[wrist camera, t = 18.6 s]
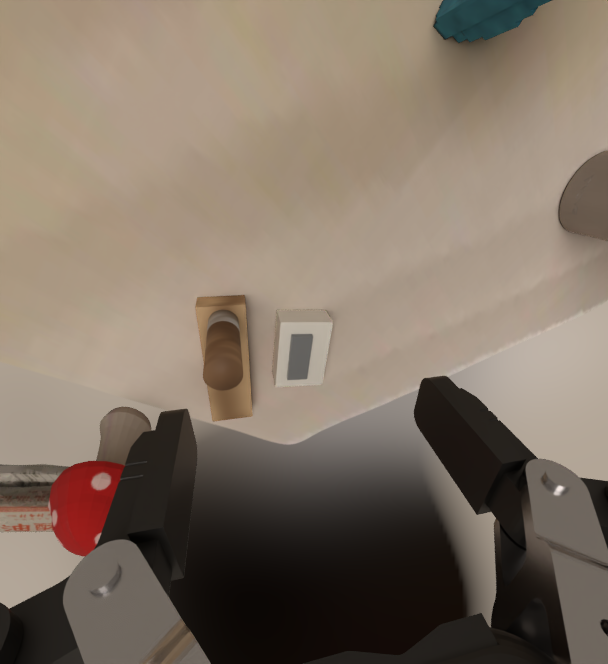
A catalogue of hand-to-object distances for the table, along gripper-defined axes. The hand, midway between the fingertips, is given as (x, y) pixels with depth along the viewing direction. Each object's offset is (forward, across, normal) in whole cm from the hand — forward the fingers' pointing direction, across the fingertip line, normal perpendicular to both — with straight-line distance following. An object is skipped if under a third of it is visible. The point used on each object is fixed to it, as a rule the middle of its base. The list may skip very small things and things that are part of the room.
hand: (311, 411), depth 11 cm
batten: (+25, +5, +14) cm, 29 cm away
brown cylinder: (+22, +4, +8) cm, 24 cm away
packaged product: (+25, +31, +32) cm, 52 cm away
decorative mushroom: (+25, +18, +23) cm, 38 cm away
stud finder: (+26, -4, +13) cm, 29 cm away
